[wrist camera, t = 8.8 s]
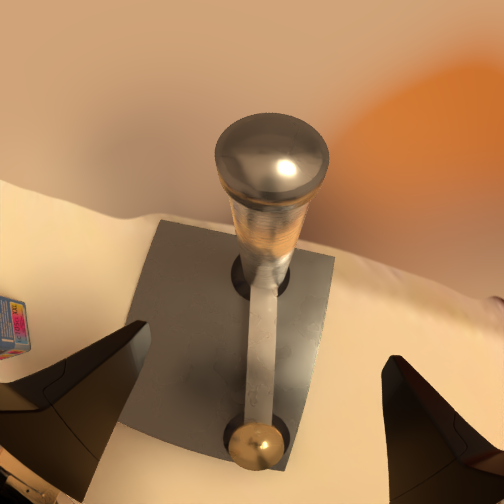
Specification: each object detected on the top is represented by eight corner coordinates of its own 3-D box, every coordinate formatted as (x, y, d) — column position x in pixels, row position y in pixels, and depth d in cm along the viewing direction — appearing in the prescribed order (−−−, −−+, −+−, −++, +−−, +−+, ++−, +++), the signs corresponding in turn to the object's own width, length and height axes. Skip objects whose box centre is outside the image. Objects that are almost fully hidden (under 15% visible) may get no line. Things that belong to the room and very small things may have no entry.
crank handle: (280, 461, 16) (306, 587, 3) (230, 459, 16) (192, 583, 3) (289, 251, 21) (325, 116, 8) (241, 250, 21) (218, 112, 8)
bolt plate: (332, 260, 22) (335, 256, 21) (283, 467, 16) (284, 471, 15) (163, 223, 23) (160, 219, 22) (110, 413, 18) (104, 415, 17)
